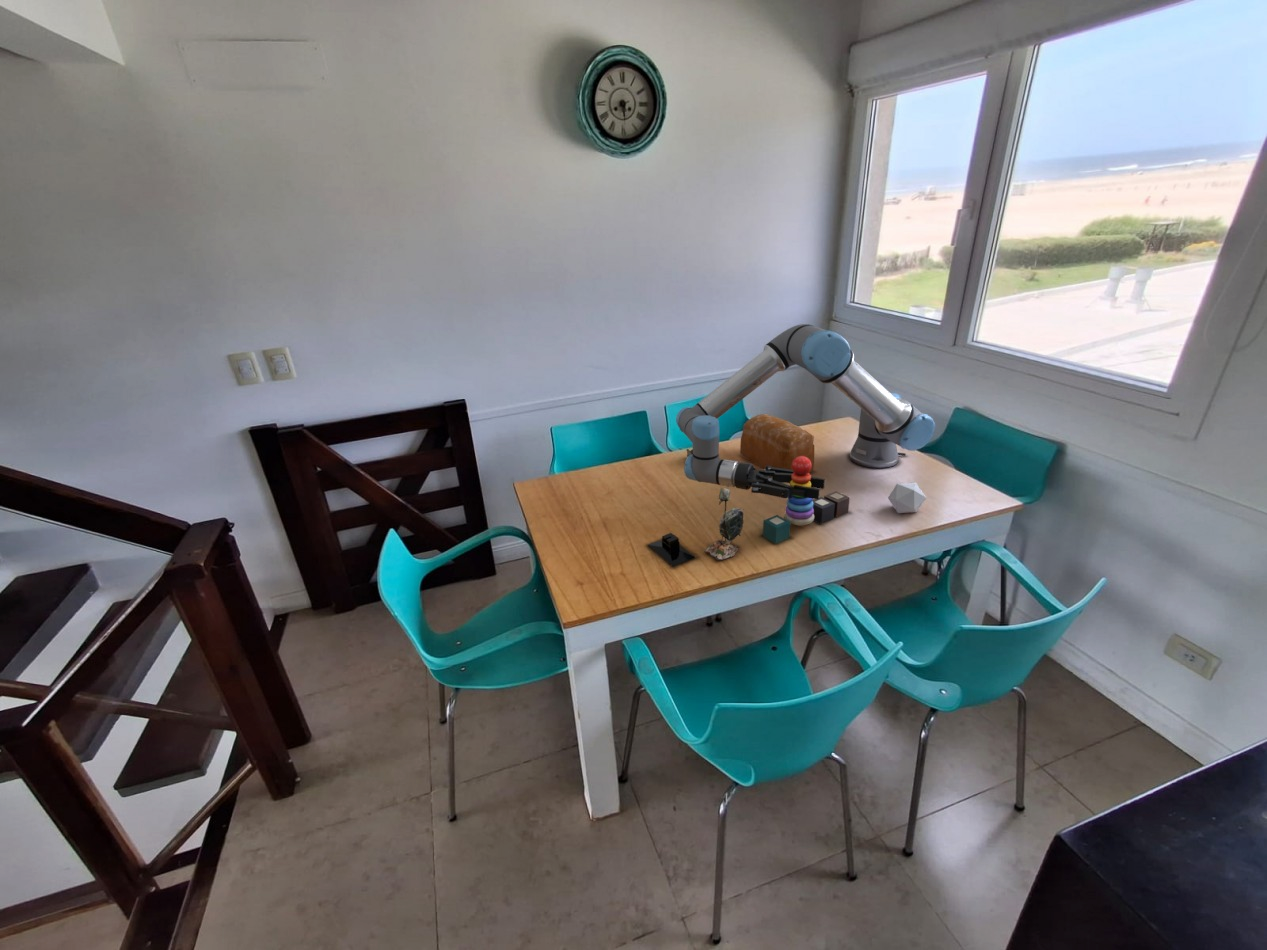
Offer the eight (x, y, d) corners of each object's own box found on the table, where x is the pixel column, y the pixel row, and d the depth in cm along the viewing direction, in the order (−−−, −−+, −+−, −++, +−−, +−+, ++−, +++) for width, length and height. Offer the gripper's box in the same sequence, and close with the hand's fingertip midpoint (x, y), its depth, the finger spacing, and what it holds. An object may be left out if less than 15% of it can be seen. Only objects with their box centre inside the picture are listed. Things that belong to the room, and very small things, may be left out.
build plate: (647, 546, 152) (646, 531, 150) (670, 537, 155) (669, 523, 153) (673, 567, 142) (672, 551, 140) (696, 557, 145) (695, 542, 143)
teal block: (776, 530, 154) (777, 514, 152) (789, 538, 150) (790, 521, 148) (762, 536, 152) (763, 519, 150) (775, 544, 148) (776, 527, 146)
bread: (784, 482, 180) (787, 437, 173) (736, 455, 201) (737, 414, 195) (817, 472, 185) (821, 428, 178) (767, 447, 207) (769, 406, 200)
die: (919, 523, 154) (937, 491, 153) (891, 508, 154) (909, 476, 153) (904, 518, 162) (921, 488, 162) (877, 504, 162) (894, 473, 161)
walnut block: (834, 505, 164) (836, 490, 162) (848, 512, 160) (850, 496, 158) (822, 510, 162) (823, 495, 160) (836, 517, 158) (837, 501, 156)
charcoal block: (820, 511, 162) (821, 496, 159) (833, 518, 158) (835, 503, 155) (807, 517, 159) (808, 501, 157) (821, 524, 156) (822, 508, 153)
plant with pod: (752, 551, 146) (754, 483, 137) (715, 564, 142) (715, 494, 133) (734, 537, 152) (735, 471, 144) (699, 549, 148) (697, 482, 140)
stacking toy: (816, 514, 155) (821, 453, 147) (811, 528, 149) (817, 465, 141) (787, 510, 159) (791, 450, 151) (781, 524, 152) (785, 461, 144)
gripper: (748, 473, 166) (828, 487, 156) (725, 500, 152) (811, 517, 141) (748, 450, 163) (830, 462, 152) (725, 476, 149) (814, 491, 138)
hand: (821, 489), depth 147 cm, fingers closed on stacking toy, 6 cm apart
